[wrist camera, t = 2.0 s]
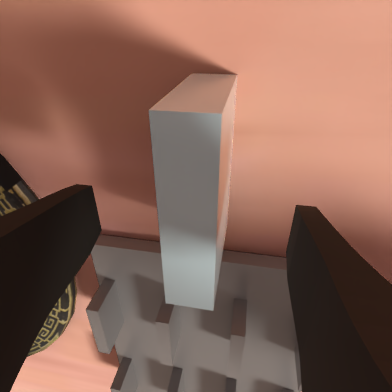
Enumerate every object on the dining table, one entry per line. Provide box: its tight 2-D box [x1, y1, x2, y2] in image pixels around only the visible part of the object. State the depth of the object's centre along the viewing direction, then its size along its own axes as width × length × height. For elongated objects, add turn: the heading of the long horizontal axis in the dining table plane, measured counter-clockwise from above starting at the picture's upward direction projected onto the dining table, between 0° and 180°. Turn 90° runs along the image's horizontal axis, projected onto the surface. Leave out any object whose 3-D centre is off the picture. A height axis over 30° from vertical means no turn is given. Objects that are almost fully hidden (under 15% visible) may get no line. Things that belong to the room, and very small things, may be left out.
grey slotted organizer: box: [86, 234, 302, 392], centre depth 22 cm, size 15×20×4 cm
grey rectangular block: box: [149, 73, 237, 311], centre depth 12 cm, size 2×8×6 cm, turn 0°
